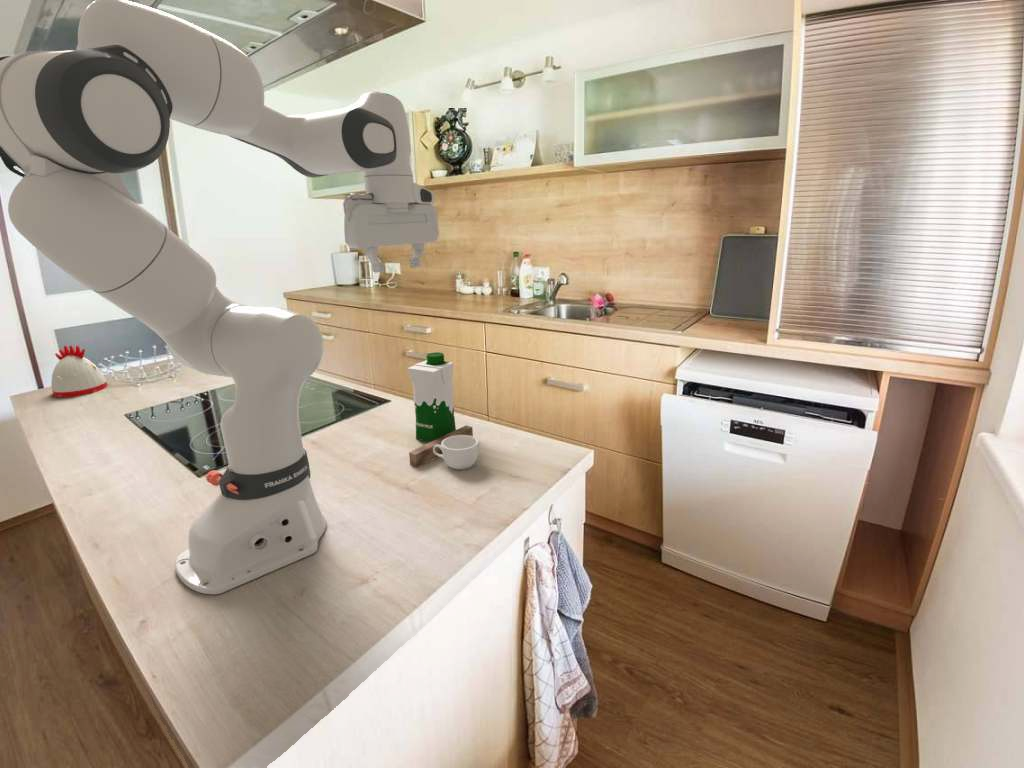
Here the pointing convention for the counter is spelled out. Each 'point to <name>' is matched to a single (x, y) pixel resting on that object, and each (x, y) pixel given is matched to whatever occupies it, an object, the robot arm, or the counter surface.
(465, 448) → the teacup
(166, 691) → the counter surface
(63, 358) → the crested hat
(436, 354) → the milk carton
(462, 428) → the strip
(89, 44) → the robot arm
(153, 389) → the counter surface
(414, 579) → the counter surface
